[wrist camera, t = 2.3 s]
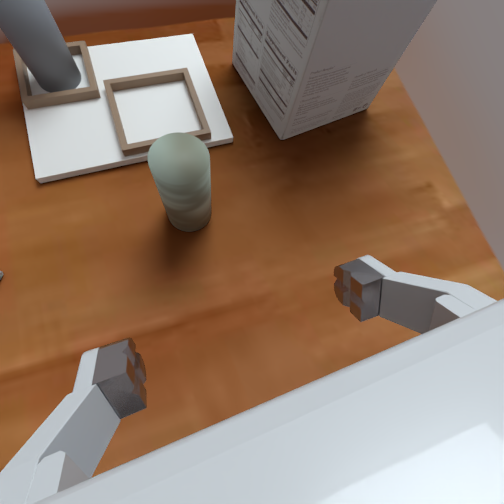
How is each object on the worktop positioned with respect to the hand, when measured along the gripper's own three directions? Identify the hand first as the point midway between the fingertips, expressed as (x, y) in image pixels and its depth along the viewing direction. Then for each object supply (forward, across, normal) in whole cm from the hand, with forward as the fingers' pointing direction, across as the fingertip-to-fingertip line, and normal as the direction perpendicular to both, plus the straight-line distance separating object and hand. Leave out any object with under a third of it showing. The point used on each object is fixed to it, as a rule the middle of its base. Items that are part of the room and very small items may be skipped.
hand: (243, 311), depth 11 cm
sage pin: (+20, 0, +2) cm, 20 cm away
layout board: (+31, +3, -8) cm, 32 cm away
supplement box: (+29, -18, -6) cm, 35 cm away
